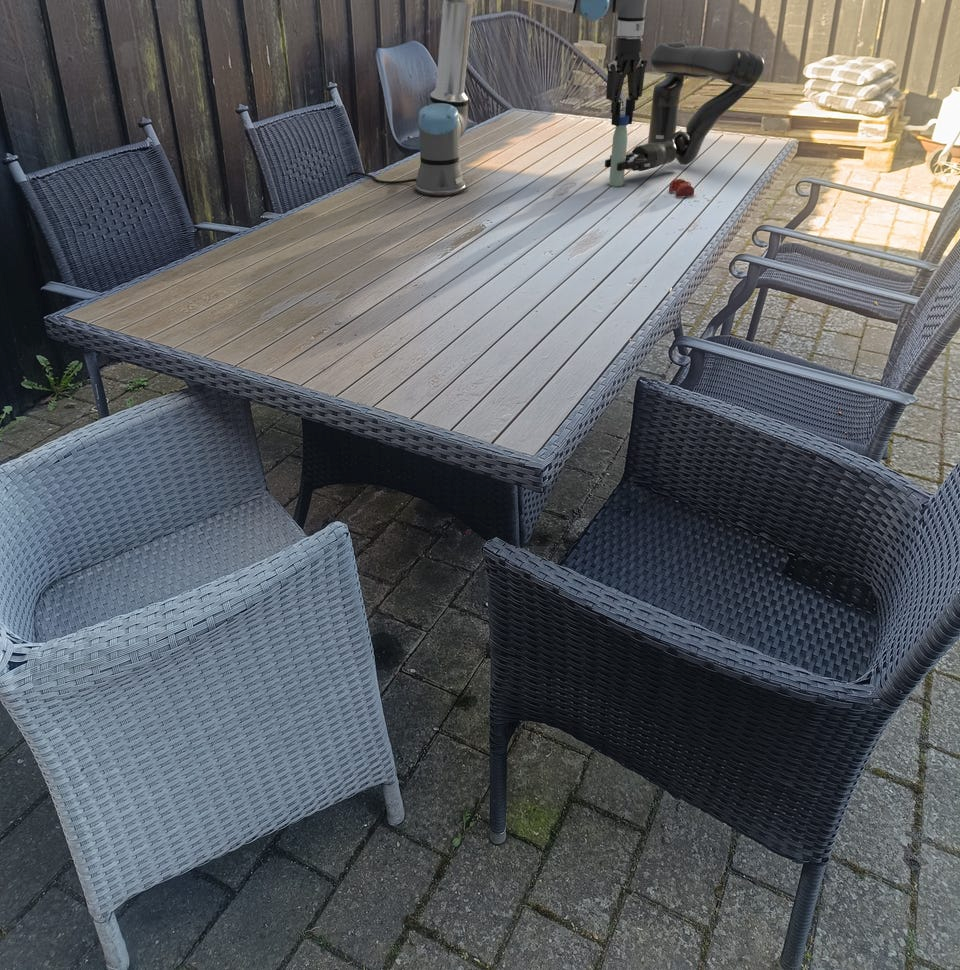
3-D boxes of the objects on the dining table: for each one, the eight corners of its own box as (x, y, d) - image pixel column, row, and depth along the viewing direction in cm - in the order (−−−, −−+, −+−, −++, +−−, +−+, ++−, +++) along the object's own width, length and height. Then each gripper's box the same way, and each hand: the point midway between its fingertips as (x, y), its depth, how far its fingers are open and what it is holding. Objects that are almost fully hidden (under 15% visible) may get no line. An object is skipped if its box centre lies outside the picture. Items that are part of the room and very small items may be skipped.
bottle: (607, 185, 262) (613, 119, 251) (610, 181, 265) (616, 116, 254) (621, 186, 261) (627, 120, 250) (624, 183, 264) (630, 117, 253)
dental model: (685, 174, 256) (697, 182, 250) (683, 188, 258) (695, 196, 252) (668, 176, 255) (679, 184, 249) (666, 190, 257) (678, 199, 251)
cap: (615, 121, 255) (616, 113, 254) (629, 122, 254) (630, 114, 253) (613, 125, 252) (613, 116, 250) (627, 126, 251) (628, 117, 249)
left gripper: (613, 41, 233) (606, 130, 247) (661, 36, 240) (651, 123, 254) (597, 37, 238) (591, 125, 252) (644, 32, 245) (635, 118, 259)
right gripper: (633, 139, 269) (595, 148, 260) (667, 148, 260) (630, 157, 251) (630, 163, 274) (594, 173, 265) (664, 173, 265) (627, 183, 256)
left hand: (621, 124), depth 253 cm, fingers closed on cap, 4 cm apart
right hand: (611, 165), depth 258 cm, fingers closed on bottle, 4 cm apart
